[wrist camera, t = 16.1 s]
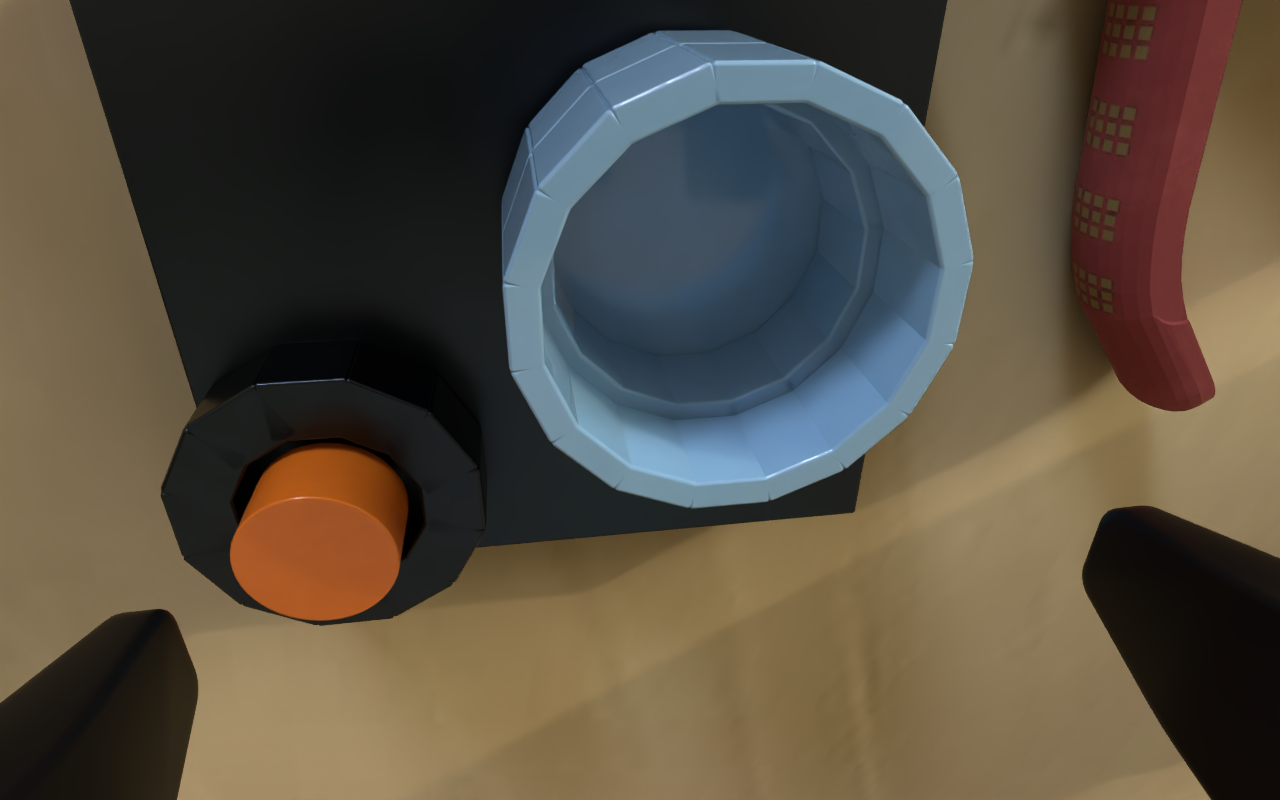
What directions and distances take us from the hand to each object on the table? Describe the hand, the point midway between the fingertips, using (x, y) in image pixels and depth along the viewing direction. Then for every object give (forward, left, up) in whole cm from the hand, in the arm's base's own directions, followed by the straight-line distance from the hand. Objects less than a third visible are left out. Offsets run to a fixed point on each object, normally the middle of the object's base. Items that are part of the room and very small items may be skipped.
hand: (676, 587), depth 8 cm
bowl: (+2, +1, -9) cm, 9 cm away
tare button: (-5, -4, -7) cm, 10 cm away
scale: (-1, 0, -11) cm, 11 cm away
